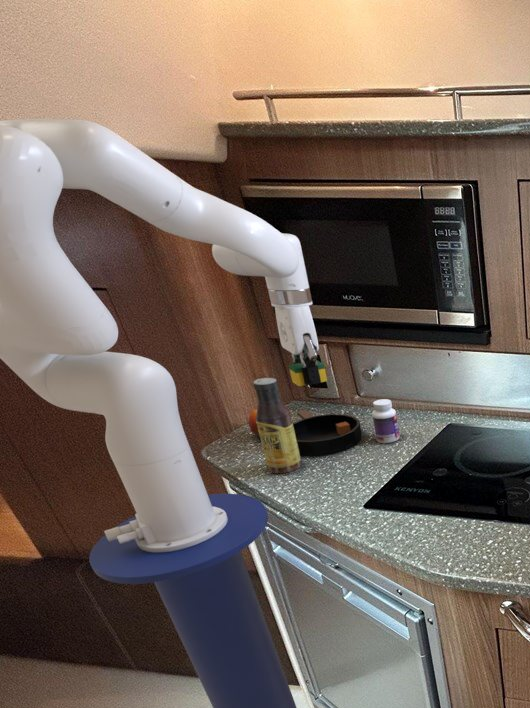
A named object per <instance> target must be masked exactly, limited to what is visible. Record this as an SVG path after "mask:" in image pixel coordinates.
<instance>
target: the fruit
mask: <svg viewBox="0 0 530 708" xmlns="http://www.w3.org/2000/svg"><path fill="white" fill-rule="evenodd" d="M256 416H257V409H253V410H252V411H251V412H250V414H249V416H248V427H249V428H250V431H251V432H252V433H253V434H254V436H255V437H259V438H260V435H259V431H258V428H257V423H256Z"/></svg>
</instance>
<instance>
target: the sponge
mask: <svg viewBox="0 0 530 708" xmlns="http://www.w3.org/2000/svg"><path fill="white" fill-rule="evenodd" d="M317 364H318V369H319V374H320V379H321V383H325V382H328V377H327V372H326V369H325V368H326V367H325V363H323V362H320V361H319V360H317ZM301 367H303V366H302V363H298V364H294V363H293V364H292V363H291V364H288V368H289V374H290V377H291V378H290V379H291V381H292V383H293V384H294V385H296V386H297V387H304V386H307V385H306V384H305V383H304V378H303V374H302V369H301Z"/></svg>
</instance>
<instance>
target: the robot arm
mask: <svg viewBox="0 0 530 708" xmlns="http://www.w3.org/2000/svg"><path fill="white" fill-rule="evenodd" d="M63 189H70V190H88V191H91V192H93V193H96V194H97V195H100V196H101V197H103V198H105V199H107V200H108V201H110V202H112V203H113V204H116V205H118V206H120V207H121V208H123V209H125V210H126V211H128V212H130V213H132V214H133V215H135V216H137V217H139V218H140V219H142V220H143V221H145V222H147V223H149V224H151V225H152V226H153V227H156V228H157V229H159V230H161V231H163V232H166V233H167V234H171V235H174V236H177V237H180V238H184V239H187V240H190V241H191V240H192V241H196V242H200V243H205V244H210V245H212V246H211V253H212V254H211V255H212V257H213V259H214V261H215V262H216V264H217V265H218V266H219V267H220V268H221V269H223V270H225V271H226V272H228V273H231V274H234V275H237V276H246V277H264V279H265V283H266V288H267V292H268V296H269V300H270V304H271V307H274V310H275V311H274V314H275V319H276V326H277V331H278V335H279V341H280V345H281V347H282V349H284V350H286V351H287V352H289V353H290V354H291V358H292V362H293V364H298V363H302V366H303V367H301V369H302V374H303V378H304V383H305V384H306V385H305V386H310V385H318V384H321V383H322V382H321V379H320V374H319V369H318V364H317V361H318V360H317V359H318V354H317V352H319V350H320V346H319V340H318V335H317V331H316V326H315V323H314V320H313V319H314V318H313V315H312V311H311V308H310V306H312V305H313V304H314V303H313V300H312V299H313V298H312V294H311V289H310V284H309V279H308V273H307V269H306V265H305V259H304V254H303V250H302V245H301V244H302V243H301V241H300V239H299V238H298V236H297V235H295V234H291V233H283V232H280V230H278V229H276V228H275V227H274V226H273V225H272V224H270V223H268V221H266V220H264V219H263V218H261V217H259V216H257V215H256V214H253V213H252V212H250V211H248V210H246V209H245V208H241V207H239V206H237V205H235V204H233V203H230V202H228V201H225V200H224V199H221V198H219V197H217V196H215V195H213V194H210V193H208V192H206V191H203V190H201V189H198V188H196V187H194V186H192V185H191V184H189V183H188V182H186V181H185V180H184V179H182V178H181V177H179V176H178V175H176V174H175V173H173V172H171V171H170V170H169V169H168V168H166V167H164V166H163V165H162V164H161V163H159V162H158V161H156V160H155V159H153V158H152V157H150V156H149V155H148V154H146V153H145V152H143V151H142V150H141V149H139V148H138V147H137V146H135V145H134V144H132V143H130V141H127V140H126V139H125V138H123V137H122V136H121V135H120V134H118V133H116V132H115V131H113V130H111V129H109V128H107V127H106V126H104V125H102V124H100V123H97V122H93V121H90V120H85V119H79V118H78V119H77V118H75V119H74V118H19V119H5V120H0V360H1V361H3V362H4V364H6V366H8V367H9V369H10V370H12V371H13V373H14V374H15V375H16V376H18V377H19V378H20V379H21V380H22V381H23V382H24V384H26V385H27V386H28V387H29V388H30V389H31V390H33V392H34V393H36V394H37V395H38V396H39V397H41V398H42V399H43V400H45V401H46V402H48V403H49V404H51V405H54V406H56V407H57V408H61V409H64V410H68V411H74V412H81V413H89V414H96V415H102V416H103V417H104V419H105V433H104V434H105V435H104V437H105V439H104V440H105V445H106V448H107V451H108V454H109V456H110V458H111V460H112V462H113V465H114V466H115V468H116V471H117V474H118V476H119V478H120V480H121V482H122V484H123V486H124V489H125V491H126V493H127V495H128V498H129V499H130V501H131V504H132V506H133V508H134V511H135V514H134V517H135V516H136V520H133V521H130V522H129V523H130V524H127V525H124V526H121V527H117V526H115V527H116V528H115V527H112V528H109V529H105V530H103V533H104V535H106V537H107V539H108V541H109V542H110V541H113V540H116V539H118V541H119V543H120V544H122V543H125V542H128V541H130V540H133V539H136V543H137V545H138V547H139V548H140V549H142V550H144V551H147V552H171V551H176V550H181V549H185V548H188V547H191V546H194V545H197V544H199V543H201V542H204V541H206V540H208V539H210V538H211V537H213V536H214V535H216V534H217V533H219V532H220V531H221V530H222V529H223V528H224V527H225V525H226V524H227V521H228V517H227V515H226V512H225V511H224V510H222V509H221V508H217V507H212V505H211V502H210V500H209V497H208V495H209V493H208V491H207V489H206V487H205V484H204V481H203V478H202V476H201V473H200V470H199V468H198V465H197V462H196V460H195V457H194V454H193V451H192V449H191V445H190V443H189V440H188V439H187V435H186V433H185V430H184V427H183V424H182V420H181V416H180V412H179V406H178V397H177V396H178V394H177V387H176V383H175V380H174V379H173V377H172V375H171V373H170V372H169V371H168V370H167V368H165V367H164V366H163V365H162V364H160V363H158V362H157V361H155V360H153V359H151V358H148V357H144V356H141V355H137V354H131V353H123V352H114V351H108V350H110V349H111V348H112V347H114V345H116V343H117V341H118V339H119V338H118V337H119V328H118V324H117V321H116V320H115V318H114V317H113V315H112V314H111V312H110V310H109V309H108V308H107V307H106V305H105V304H104V303H103V301H102V300H101V298H99V296H98V295H97V294H96V292H95V291H94V290H93V288H92V287H91V286H90V285H89V283H88V282H87V281H86V280H85V278H84V276H82V274H80V272H79V271H78V270H77V269H76V267H75V265H73V263H72V262H71V260H70V259H69V257H68V256H67V254H66V252H64V250H63V249H62V247H61V245H60V243H59V242H58V239H57V237H56V234H55V229H54V214H55V209H56V207H57V202H58V200H59V198H60V196H61V193H62V190H63Z"/></svg>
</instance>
